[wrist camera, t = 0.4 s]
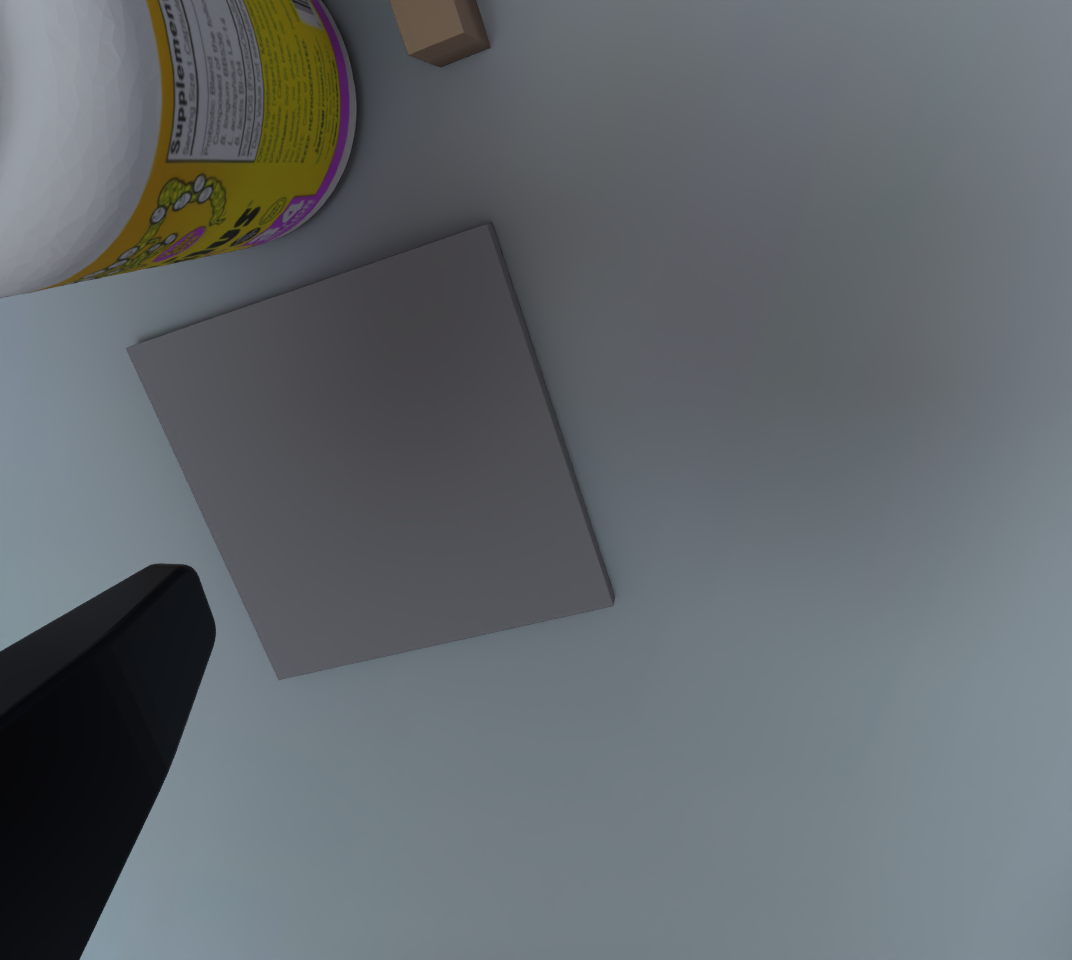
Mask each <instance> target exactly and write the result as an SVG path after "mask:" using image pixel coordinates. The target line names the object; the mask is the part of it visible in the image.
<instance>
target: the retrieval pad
mask: <svg viewBox="0 0 1072 960" xmlns="http://www.w3.org/2000/svg"><path fill="white" fill-rule="evenodd" d="M126 349H127V351H128V354H129V356H130V358H131V360H132V362H133V365H134V367H135V369H136V371H137V373H138V375H139V378H140V380H141V382H142V384H143V386H144V388H145V391H146V393H147V395H148V397H149V399H150V401H151V404H152V406H153V408H154V410H155V412H156V415H157V417H158V419H159V421H160V423H161V425H162V428H163V430H164V432H165V434H166V436H167V438H168V441H169V443H170V445H171V447H172V449H173V451H174V454H175V456H176V458H177V460H178V462H179V465H180V467H181V469H182V471H183V473H184V475H185V478H186V480H187V482H188V484H189V486H190V488H191V491H192V493H193V495H194V497H195V499H196V501H197V504H198V506H199V508H200V510H201V512H202V514H203V517H204V519H205V521H206V523H207V525H208V528H209V530H210V532H211V534H212V536H213V538H214V541H215V543H216V545H217V547H218V549H219V551H220V554H221V556H222V558H223V560H224V562H225V564H226V567H227V569H228V571H229V573H230V575H231V578H232V580H233V582H234V584H235V586H236V588H237V591H238V593H239V595H240V597H241V599H242V601H243V604H244V606H245V608H246V610H247V612H248V614H249V617H250V619H251V621H252V623H253V625H254V627H255V630H256V632H257V634H258V636H259V638H260V641H261V643H262V645H263V647H264V649H265V651H266V654H267V656H268V658H269V660H270V662H271V664H272V667H273V669H274V671H275V673H276V675H277V677H278V680H281V679H285V678H290V677H294V676H299V675H303V674H308V673H312V672H317V671H321V670H326V669H330V668H335V667H339V666H344V665H349V664H353V663H358V662H362V661H367V660H371V659H376V658H380V657H385V656H389V655H394V654H398V653H403V652H407V651H412V650H416V649H421V648H425V647H430V646H434V645H439V644H443V643H448V642H453V641H457V640H462V639H466V638H471V637H475V636H480V635H484V634H489V633H493V632H498V631H502V630H507V629H511V628H516V627H520V626H525V625H529V624H534V623H538V622H543V621H547V620H552V619H557V618H561V617H566V616H570V615H575V614H579V613H584V612H588V611H593V610H597V609H602V608H606V607H611V606H613V605H614V599H615V596H614V593H613V590H612V587H611V584H610V581H609V578H608V575H607V572H606V569H605V566H604V563H603V560H602V556H601V553H600V550H599V547H598V544H597V541H596V538H595V535H594V532H593V529H592V526H591V523H590V520H589V517H588V514H587V511H586V508H585V505H584V502H583V499H582V496H581V493H580V490H579V487H578V484H577V481H576V478H575V475H574V472H573V468H572V465H571V462H570V459H569V456H568V453H567V450H566V447H565V444H564V441H563V438H562V435H561V432H560V429H559V426H558V423H557V420H556V417H555V414H554V411H553V408H552V405H551V402H550V399H549V396H548V393H547V390H546V387H545V383H544V380H543V377H542V374H541V371H540V368H539V365H538V362H537V359H536V356H535V353H534V350H533V347H532V344H531V341H530V338H529V335H528V332H527V329H526V326H525V323H524V320H523V317H522V314H521V311H520V308H519V305H518V302H517V299H516V295H515V292H514V289H513V286H512V283H511V280H510V277H509V274H508V271H507V268H506V265H505V262H504V259H503V256H502V253H501V250H500V247H499V244H498V241H497V238H496V235H495V232H494V229H493V226H492V223H491V222H490V223H487V224H484V225H481V226H478V227H476V228H473V229H470V230H467V231H464V232H461V233H458V234H455V235H452V236H449V237H447V238H444V239H441V240H438V241H435V242H432V243H429V244H426V245H423V246H420V247H418V248H415V249H412V250H409V251H406V252H403V253H400V254H397V255H394V256H391V257H388V258H386V259H383V260H380V261H377V262H374V263H371V264H368V265H365V266H362V267H359V268H357V269H354V270H351V271H348V272H345V273H342V274H339V275H336V276H333V277H330V278H328V279H325V280H322V281H319V282H316V283H313V284H310V285H307V286H304V287H301V288H298V289H296V290H293V291H290V292H287V293H284V294H281V295H278V296H275V297H272V298H269V299H267V300H264V301H261V302H258V303H255V304H252V305H249V306H246V307H243V308H240V309H238V310H235V311H232V312H229V313H226V314H223V315H220V316H217V317H214V318H211V319H208V320H206V321H203V322H200V323H197V324H194V325H191V326H188V327H185V328H182V329H179V330H177V331H174V332H171V333H168V334H165V335H162V336H159V337H156V338H153V339H150V340H148V341H145V342H142V343H139V344H136V345H133V346H130V347H127V348H126Z"/></svg>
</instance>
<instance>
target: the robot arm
mask: <svg viewBox="0 0 1072 960" xmlns="http://www.w3.org/2000/svg"><path fill="white" fill-rule="evenodd" d="M215 637H216V627H215V621H214V618H213V615H212V612H211V610H210V607H209V604H208V601H207V599H206V596H205V593H204V590H203V587H202V585H201V582H200V579H199V576H198V574H197V572H196V571H195V570H194V569H193V568H192V567H190V566H188V565H184V564H153V565H150V566H148V567H146V568H144V569H142V570H141V571H139V572H137V573H135V574H134V575H132V576H130V577H128V578H127V579H125V580H123V581H122V582H120V583H118V584H116V585H115V586H113V587H111V588H109V589H108V590H106V591H104V592H102V593H101V594H99V595H97V596H96V597H94V598H92V599H90V600H89V601H87V602H85V603H83V604H82V605H80V606H78V607H76V608H75V609H73V610H71V611H70V612H68V613H66V614H64V615H63V616H61V617H59V618H57V619H56V620H54V621H52V622H50V623H49V624H47V625H45V626H44V627H42V628H40V629H38V630H37V631H35V632H33V633H31V634H30V635H28V636H26V637H24V638H23V639H21V640H19V641H18V642H16V643H14V644H12V645H11V646H9V647H7V648H5V649H4V650H2V651H0V960H80V957H81V955H82V953H83V951H84V949H85V947H86V945H87V943H88V941H89V939H90V936H91V934H92V932H93V930H94V928H95V926H96V924H97V922H98V920H99V918H100V916H101V913H102V911H103V909H104V907H105V905H106V903H107V901H108V899H109V897H110V895H111V892H112V890H113V888H114V886H115V884H116V882H117V880H118V878H119V876H120V874H121V871H122V869H123V867H124V865H125V863H126V861H127V859H128V857H129V855H130V853H131V851H132V848H133V846H134V844H135V842H136V840H137V838H138V836H139V834H140V832H141V830H142V827H143V825H144V823H145V821H146V819H147V817H148V815H149V813H150V811H151V809H152V807H153V804H154V802H155V800H156V798H157V796H158V794H159V792H160V789H161V787H162V785H163V783H164V780H165V778H166V776H167V774H168V772H169V769H170V766H171V764H172V761H173V759H174V756H175V754H176V751H177V748H178V745H179V743H180V740H181V737H182V734H183V731H184V729H185V726H186V723H187V720H188V717H189V714H190V712H191V709H192V706H193V703H194V700H195V697H196V695H197V692H198V689H199V686H200V683H201V680H202V678H203V675H204V672H205V669H206V666H207V663H208V661H209V658H210V655H211V652H212V649H213V646H214V643H215Z"/></svg>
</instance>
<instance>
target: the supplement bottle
mask: <svg viewBox="0 0 1072 960" xmlns="http://www.w3.org/2000/svg"><path fill="white" fill-rule="evenodd" d="M356 109H357V104H356V92H355V85H354V80H353V74H352V69H351V64H350V60H349V57H348V53H347V50H346V47H345V44H344V42H343V39H342V37H341V34H340V32H339V30H338V28H337V26H336V24H335V22H334V20H333V18H332V16H331V14H330V12H329V11H328V9H327V8H326V6H325V4H324V3H323V1H322V0H0V298H2V297H9V296H13V295H18V294H25V293H31V292H36V291H40V290H44V289H48V288H53V287H58V286H63V285H68V284H73V283H77V282H82V281H87V280H92V279H98V278H102V277H107V276H112V275H117V274H122V273H127V272H132V271H137V270H141V269H146V268H152V267H158V266H164V265H168V264H172V263H177V262H183V261H187V260H195V259H198V258H202V257H206V256H211V255H216V254H221V253H226V252H231V251H236V250H240V249H245V248H249V247H253V246H256V245H259V244H263V243H266V242H269V241H272V240H275V239H277V238H279V237H281V236H284V235H286V234H288V233H290V232H292V231H293V230H295V229H296V228H298V227H299V226H301V225H302V224H303V223H304V222H306V221H307V220H308V219H309V218H310V217H312V216H313V215H314V214H315V213H316V212H317V211H318V210H319V209H320V208H321V207H322V205H323V204H324V203H325V202H326V200H327V199H328V198H329V196H330V195H331V194H332V192H333V190H334V189H335V187H336V185H337V184H338V182H339V180H340V178H341V176H342V174H343V172H344V169H345V167H346V164H347V162H348V159H349V155H350V152H351V148H352V144H353V139H354V133H355V126H356Z"/></svg>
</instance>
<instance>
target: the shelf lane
mask: <svg viewBox="0 0 1072 960" xmlns="http://www.w3.org/2000/svg"><path fill="white" fill-rule="evenodd" d="M390 3H391V6H392V9H393V12H394V15H395V18H396V21H397V24H398V27H399V30H400V33H401V36H402V39H403V42H404V45H405V48H406V51H407V54H408V55H409V56H412V57H415V58H417V59H420V60H423V61H425V62H428V63H431V64H433V65H436V66H439V67H443V66H445V65H448V64H450V63H453V62H455V61H458V60H460V59H463V58H465V57H468V56H470V55H473V54H475V53H478V52H480V51H483V50H485V49H488V48H490V44H489V41H488V38H487V34H486V31H485V28H484V25H483V22H482V18H481V15H480V12H479V9H478V6H477V3H476V0H390Z"/></svg>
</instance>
